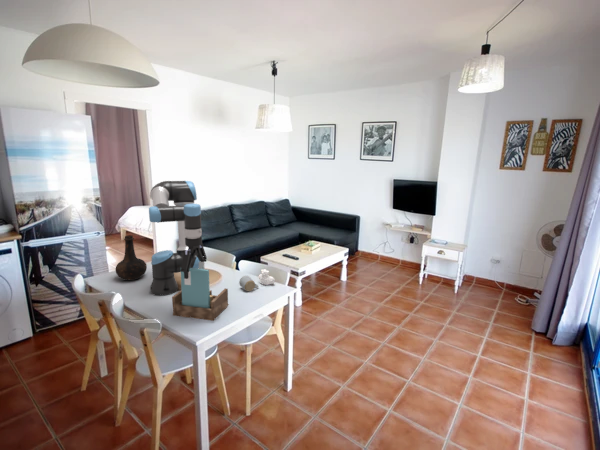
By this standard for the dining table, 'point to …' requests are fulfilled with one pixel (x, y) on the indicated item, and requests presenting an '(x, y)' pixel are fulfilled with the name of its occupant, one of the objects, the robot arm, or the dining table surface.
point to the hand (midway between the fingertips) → (195, 279)
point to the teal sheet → (196, 289)
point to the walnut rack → (197, 312)
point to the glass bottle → (130, 263)
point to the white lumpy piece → (266, 277)
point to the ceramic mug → (247, 283)
